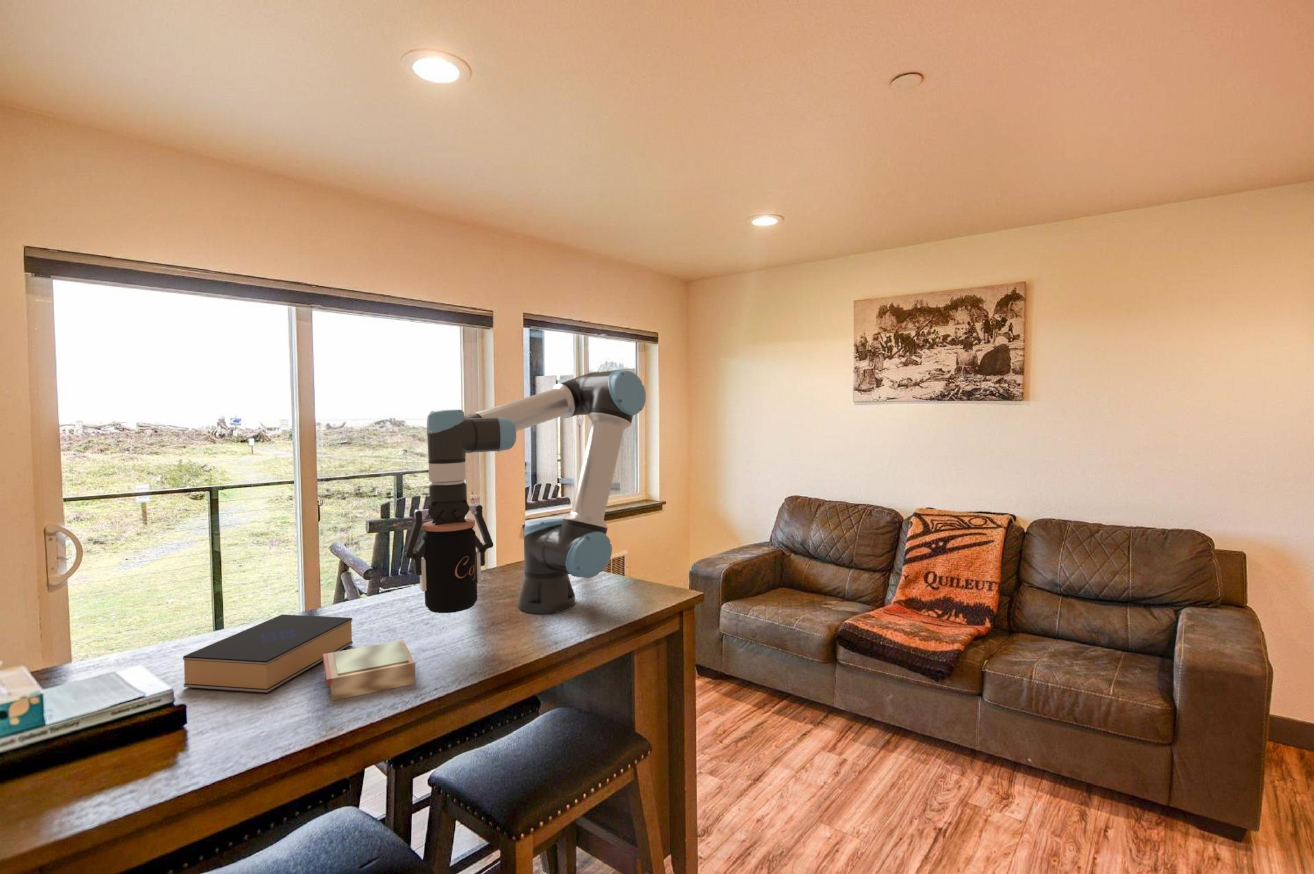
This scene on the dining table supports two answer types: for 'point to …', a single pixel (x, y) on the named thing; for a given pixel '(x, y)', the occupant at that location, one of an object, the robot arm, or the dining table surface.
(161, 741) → the dining table surface
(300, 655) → the book
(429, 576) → the coffee jar
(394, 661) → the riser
